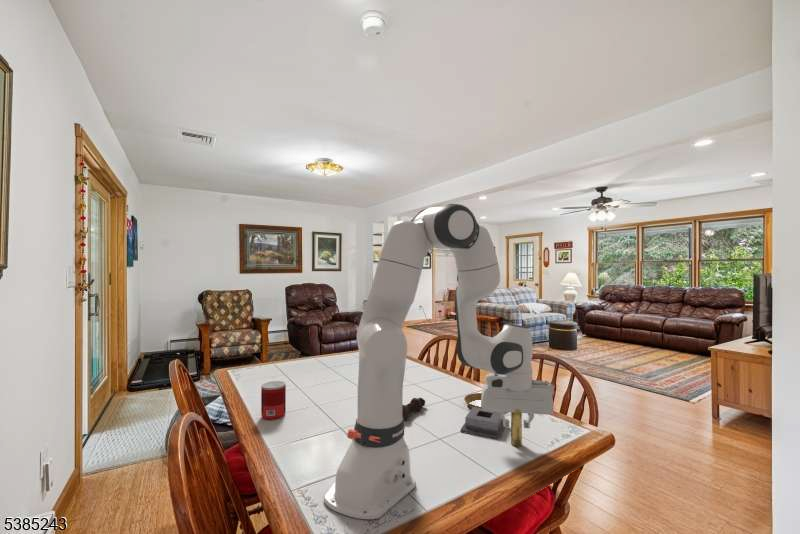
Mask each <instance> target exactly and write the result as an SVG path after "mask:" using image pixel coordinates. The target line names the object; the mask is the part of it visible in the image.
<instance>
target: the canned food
mask: <svg viewBox="0 0 800 534" xmlns="http://www.w3.org/2000/svg"><path fill="white" fill-rule="evenodd" d="M260 389H261V391H260V392H261V393H260V395H261V396H260V397H261V398H260V399H261V401H260V402H261V403H260V404H261V405H260V406H261V407H260V408H261V409H260V410H261V411H260V413H261V414H260V415H261V418H262V419H263V420H264V421H276V420H280V419H281V418H283V417H285V415H286V408H287V407H286V402H287V401H286V399H287V397H286V394H287V393H286V392H287V390H286V389H287V385H286V382H284V381H280V380H273V381H269V382H268V381H267V382H264V383H263V384H262V385H261V388H260Z"/></svg>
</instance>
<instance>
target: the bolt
mask: <svg viewBox="0 0 800 534" xmlns="http://www.w3.org/2000/svg"><path fill="white" fill-rule="evenodd" d="M425 405H426V400H425V399H424V398H422V397H418V398H417V397H413V398H411V400H410V402H409V403H407V404H406V405H405V404H402V417H403V418H404V422H406V421H407V420H408V419H409V417H410V415H411V414H413V413H414V412H416V411H419V412H420V411H421V410H422V409H423V407H425Z"/></svg>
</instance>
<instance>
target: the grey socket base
mask: <svg viewBox="0 0 800 534" xmlns="http://www.w3.org/2000/svg"><path fill="white" fill-rule="evenodd" d="M464 419H465V420H464V421H465V422H464V424H463V425H462V426H461V428H460V432H461V431H462V432H461V433H464V432H466V433H465V434H469V433H471V434H470V435H474V434H476V435H475V436H479V437H485V438H489V439H490V438H491V439H496V440H498V441H499V440H501V437H502V435H503V432H504V430H505V428H506V427H504V425H503V419H502V417H501V416H500V413H499V412H494V411H484V410H483V409H482V408H478V407H472V408H471V409H470V410H469V412H467V414H466V416H465V418H464Z"/></svg>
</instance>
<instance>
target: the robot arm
mask: <svg viewBox="0 0 800 534" xmlns="http://www.w3.org/2000/svg"><path fill="white" fill-rule="evenodd" d="M432 248H435V249H441V250H442V249H450V251H451V253H452V254H453V256H454V260H455V266H456V270H457V272H456V273H457V286H456V289H455V290H454V292H455V293H454V307H455V318H456V320H455V321H456V328H457V329H456V330H457V340H456V355H457V359H458V360H459V361H460V363H461V364H462V365H463V366H466V367H470V368H474V369H479V370H482V371H485V372H488V373H487V374H486V375H485V377H484V378H485V383H484V385H483V387H482V390H481V393H482V395H481V407H482V409H483V410H484V411H494V412H499V413H500V416H501V417H502V419H503V425H504V427H505V428H509V427H510V420H509V419H508V418H506V417H505V416H506V413H510V414H511V413H515V412H514V411H515V409H520V411H521V413H522V414H527V416H528V417H527V418H526V419H524V420H523V428H524V429H531V423H532V421H533V420H534V418H535V415H546V416H547V415H549V416H550V415H552V414H553V413H554V411H555V407H554V405H555V404H554V400H553V397H554V394H555V387H554V385H553V383H551V382H549V380H537V379H533V378H534V377H533V375H534V374H533V367H532V358H533V351H534V350H533V338H532V337H533V335H532V334H531V330H530V328H528V327H527V326H525V325H518V324H514V323H504V324H503V326H502V330H501V331H500V332H499V333H498V334H496V335H495V336H494V335H493V336H492V337H491V336H489V335H488V336H487V335H484V334H483V333H480V331H479V329H478V320H477V303H478V302H479V301H480V300H482V299H484V298H486V297H489V296H490V295H491V294H493V293H494V292H496V290H497V288H499V287H498V286H499V285H500V282H501V271H500V266H499V261H498V257H497V253H496V252H497V251H496V248H495V245H494V243H493V240H492V237H491V235H490V232H489V230H488V229H487V228H486V227H485V226H482V225H481V224H480V225H479V223H478V222H477V219H476V216H475V215H474V213H473V211H472V210H470V209H469V208H468V207H467V206H466V205H463V204H459V203H448V204H438V205H433V206H431V207H428V208H423V210H420V211H419V212H418V213H417V214H416V215H414V217H413V218H412V219H411V220H399V221H397V222H395V223H394V224H393V225H392V226H391V227H390V229H389V232H388V233H387V236H386V238H385V239H384V243H383V246H382V249H381V251H380V254H379V258H378V262H377V266H376V269H375V272H374V276H373V280H372V283H371V288H370V291H369V294H368V296H367V299H366V302H365V306H364V308H363V312H362V314H361V318H360V320H359V325H358V328H357V330H356V331H357V332H356V342H357V347H358V358H359V359H358V379H357V418H356V420H355V424H354V428H353V429H352V428H350V429H348V430H347V433H346V434H347V435H346V436H347V439H352V441H351V443H350V445H349V447H348V449H347V451H346V452H345V455H344V456H343V458H342V460H341V461H340V464H339V466H338V467H337V470H336V474H335V481H334V482H333V483H332V485H331V487H330V488H329V489H328V491H327V492H326V493H325V495H324V497H323V502H324V504H325V505H326V507H328V508H329V509H331V510H333V511H334V512H337V513H339V514H342V515H345V516H347V517H351V518H353V519H358V520H359V519H360V520H375V519H376V520H378V519H379V518H381V517H382V516H383V515H384V514H386V513H387V512H388V511H389V510H391V509H392V507H393V506H396V504H397V503H398V502H399V501H401V500H402V499H404V497H405V496H406V495H408V493H410V492H411V491H412V490H414V489H415V488H416V486H417V484H416V479H415V478H414V477H413V476H412V473H411V472H412V471H411V456H410V448H409V447H408V445H407V442H406V440H405V438H404V437H405V429H406V425H405V421H404V418H403V417H402V405H403V395H404V394H403V389H404V379H405V373H406V364H407V363H406V362H407V355H408V341H407V337H406V335H405V333H404V332H403V326H404V323H405V320H406V317H407V316H408V313H409V311H410V309H411V306H412V305H413V304H414V302H415V297H416V294H417V290H418V287H419V283H420V278H421V275H422V270H423V268H424V267H423V266H424V264H425V263H424V262H425V258H426V256H427V254H428V252H429V251H430V250H431V249H432Z"/></svg>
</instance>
